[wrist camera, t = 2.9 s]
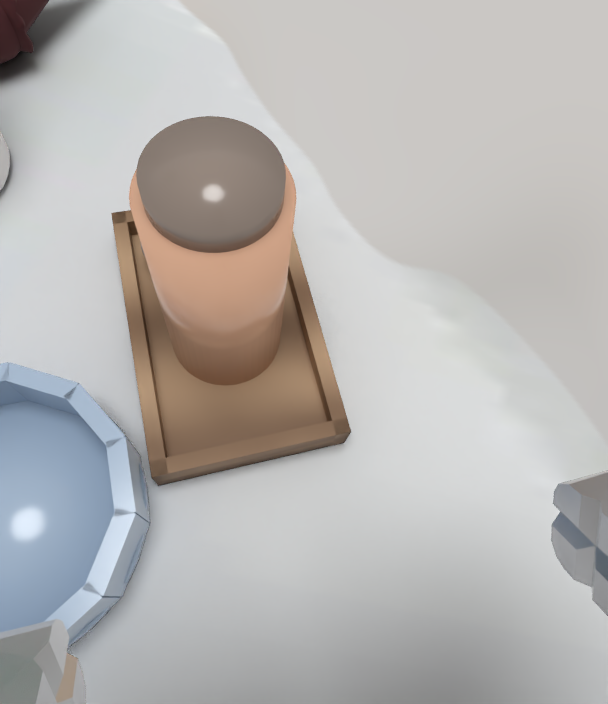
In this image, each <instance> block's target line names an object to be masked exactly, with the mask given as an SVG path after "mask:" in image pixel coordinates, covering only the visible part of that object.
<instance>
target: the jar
mask: <svg viewBox="0 0 608 704" xmlns="http://www.w3.org/2000/svg"><path fill="white" fill-rule="evenodd" d="M129 200H130V208H131V212H132V215H133V219H134V222H135V225H136V228H137V232H138V235H139V238H140V241H141V245H142V248H143V251H144V254H145V258H146V261H147V264H148V268H149V271H150V274H151V277H152V281H153V284H154V287H155V290H156V294H157V297H158V300H159V303H160V307H161V310H162V313H163V316H164V320H165V323H166V326H167V329H168V333H169V336H170V339H171V342H172V346H173V349H174V352H175V354H176V357H177V359H178V360H179V362H180V364H181V365H182V366H183V367H184V368H185V369H186V370H187V371H188V372H189V373H190V374H191V375H193V376H194V377H196V378H198V379H200V380H202V381H204V382H207V383H210V384H215V385H236V384H240V383H244V382H247V381H249V380H251V379H253V378H255V377H257V376H258V375H260V374H261V373H262V372H263V371H264V370H266V369H267V368H268V366H269V365H270V364H271V363H272V361H273V359H274V358H275V356H276V354H277V351H278V348H279V344H280V335H281V327H282V318H283V309H284V301H285V292H286V284H287V275H288V266H289V258H290V249H291V241H292V232H293V223H294V215H295V206H296V189H295V184H294V181H293V178H292V175H291V173H290V171H289V169H288V168H287V166H286V165H285V163H284V161H283V159H282V156H281V154H280V152H279V150H278V149H277V147H276V146H275V145H274V143H273V142H272V141H271V140H270V139H269V138H268V137H267V136H266V135H264V134H263V133H262V132H261V131H259V130H257V129H256V128H254V127H252V126H250V125H248V124H246V123H244V122H241V121H238V120H234V119H230V118H225V117H213V116H206V117H196V118H190V119H187V120H183V121H180V122H177V123H175V124H172V125H171V126H169V127H167V128H165V129H164V130H162V131H161V132H159V133H158V134H157V135H156V136H154V137H153V138H152V139H151V140H150V142H149V143H148V144H147V145H146V147H145V148H144V150H143V151H142V153H141V156H140V158H139V161H138V165H137V169H136V171H135V173H134V176H133V178H132V181H131V185H130V193H129Z"/></svg>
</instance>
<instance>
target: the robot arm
mask: <svg viewBox="0 0 608 704" xmlns="http://www.w3.org/2000/svg"><path fill="white" fill-rule="evenodd" d="M553 504H554V505H555V506H556V508H557V509H558V510H559V511H560V513H559V515H558V516H557V518H556V519H555V521H554V522H553V523H552V533H551V541H552V544H553V547H554V550H555V553H556V556H557V558H558V560H559V561H560V563H561V565H562V566H563V568H564V569H565V570H566V571H567V573H568V574H569V575H570V576H571V577H572V578H573V579H574V580H576V581H578V582H581V583H583V584H585V585H588V586H590V587H591V589H592V600H593V601H594V602H595V603H596V604H597V605H598V606H599V607H600V608H601V609H602V611H603V612H604V613H605V614H606V615H607V616H608V470H607V471H603V472H599V473H596V474H592V475H588V476H585V477H581V478H578V479H574V480H570V481H567V482H563V483H560V484H558V485H557V487H556V489H555V491H554V499H553ZM68 642H69V635H68V632H67V630H66V628H65V626H64V623H63V621H62V620H59V619H54V620H50V621H46V622H41V623H37V624H33V625H29V626H25V627H21V628H17V629H13V630H9V631H5V632H1V633H0V704H86V686H85V681H84V676H83V672H82V668H81V666H80V663H79V660H78V658H76V657H74V656H72V655H70V654H69V653H67V649H68Z"/></svg>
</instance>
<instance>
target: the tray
mask: <svg viewBox="0 0 608 704" xmlns="http://www.w3.org/2000/svg"><path fill="white" fill-rule="evenodd" d="M112 220H113V226H114V233H115V240H116V246H117V253H118V259H119V266H120V273H121V279H122V286H123V292H124V299H125V306H126V312H127V319H128V325H129V332H130V339H131V345H132V352H133V358H134V365H135V372H136V378H137V385H138V391H139V398H140V405H141V411H142V418H143V424H144V431H145V438H146V444H147V451H148V457H149V464H150V471H151V477H152V479H153V480H154V481H155V482H156V483H157V485H158V486H159V485H164V484H168V483H172V482H177V481H181V480H185V479H190V478H194V477H198V476H202V475H207V474H211V473H215V472H220V471H224V470H228V469H233V468H237V467H241V466H246V465H250V464H254V463H259V462H263V461H267V460H272V459H276V458H280V457H284V456H289V455H293V454H297V453H302V452H306V451H310V450H315V449H319V448H323V447H328V446H332V445H336V444H341V443H344V442H345V441H346V439H347V437H348V436H349V434H350V433H351V430H350V427H349V423H348V420H347V416H346V413H345V409H344V406H343V402H342V399H341V396H340V392H339V389H338V385H337V382H336V378H335V375H334V371H333V368H332V365H331V361H330V358H329V354H328V351H327V347H326V344H325V340H324V337H323V334H322V330H321V327H320V323H319V320H318V316H317V313H316V309H315V306H314V303H313V299H312V296H311V292H310V289H309V285H308V282H307V278H306V275H305V272H304V268H303V265H302V261H301V258H300V254H299V251H298V247H297V244H296V241H295V237H294V234H293V232H292V241H291V249H290V258H289V266H288V275H287V284H286V292H285V301H284V309H283V318H282V327H281V335H280V344H279V348H278V351H277V354H276V356H275V358H274V359H273V361H272V363H271V364H270V365H269V366H268V368H267V369H266V370H264V371H263V372H262V373H261V374H260V375H258V376H257V377H255V378H253V379H251V380H249V381H247V382H244V383H240V384H236V385H215V384H210V383H207V382H204V381H202V380H200V379H198V378H196V377H194V376H193V375H191V374H190V373H189V372H188V371H187V370H186V369H185V368H184V367H183V366H182V365H181V364H180V362H179V360H178V359H177V357H176V354H175V352H174V349H173V346H172V342H171V339H170V336H169V333H168V329H167V326H166V323H165V320H164V316H163V313H162V310H161V307H160V303H159V300H158V297H157V294H156V290H155V287H154V284H153V281H152V277H151V274H150V271H149V268H148V264H147V261H146V258H145V257H144V255H143V253H142V250H141V244H140V238H139V235H138V232H137V228H136V225H135V222H134V219H133V215H132V212H131V210H129V211H123V212H116V213H112Z"/></svg>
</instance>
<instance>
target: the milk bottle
mask: <svg viewBox="0 0 608 704" xmlns="http://www.w3.org/2000/svg"><path fill="white" fill-rule="evenodd" d="M9 167H10V153H9V149H8V146H7V143H6V141H5V139H4V137H3V135H2V133H1V131H0V191H1V189H2V188H3V187H4V184H5V182H6V180H7V177H8V173H9Z"/></svg>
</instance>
